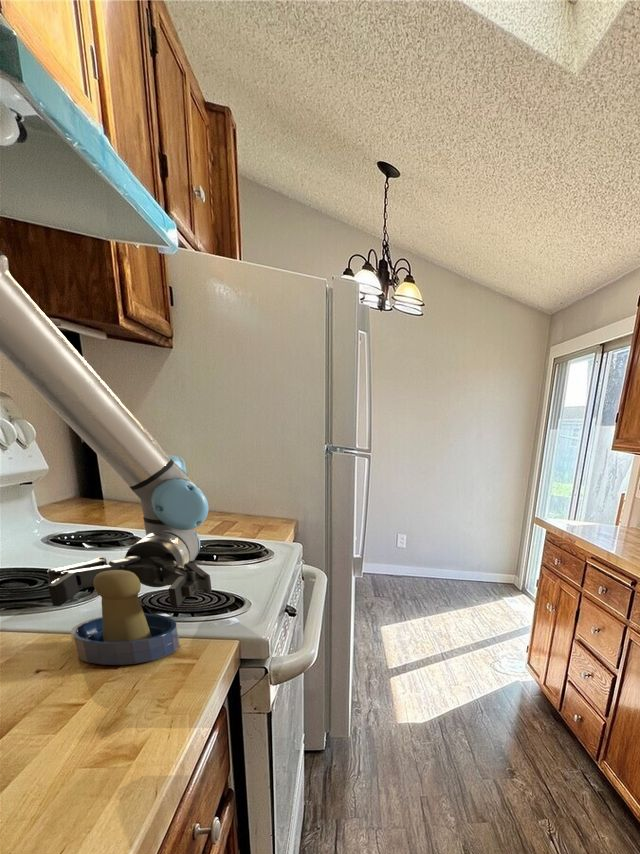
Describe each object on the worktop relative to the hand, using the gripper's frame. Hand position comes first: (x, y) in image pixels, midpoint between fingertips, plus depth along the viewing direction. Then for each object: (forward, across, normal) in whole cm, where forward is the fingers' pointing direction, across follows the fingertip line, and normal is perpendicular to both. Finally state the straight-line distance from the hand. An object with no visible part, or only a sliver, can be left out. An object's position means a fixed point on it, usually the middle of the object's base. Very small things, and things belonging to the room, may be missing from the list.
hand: (114, 597), depth 74 cm
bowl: (-2, 0, -8) cm, 9 cm away
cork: (-2, 0, -8) cm, 8 cm away
